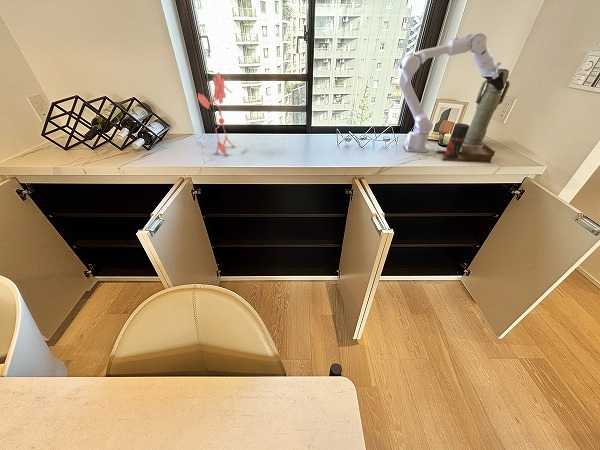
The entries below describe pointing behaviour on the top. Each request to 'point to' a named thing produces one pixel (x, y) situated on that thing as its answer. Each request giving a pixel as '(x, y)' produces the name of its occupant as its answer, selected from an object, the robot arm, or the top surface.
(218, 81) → the figurine
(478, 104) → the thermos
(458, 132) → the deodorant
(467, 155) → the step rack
